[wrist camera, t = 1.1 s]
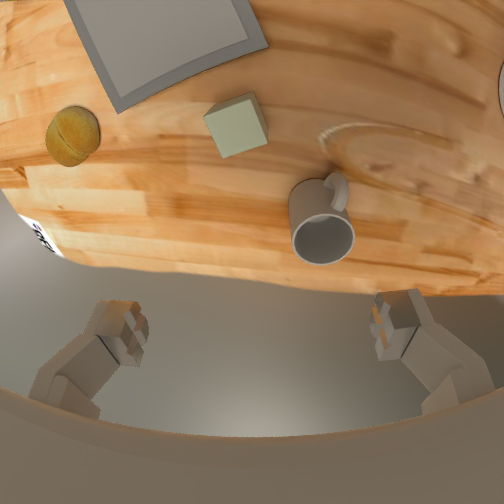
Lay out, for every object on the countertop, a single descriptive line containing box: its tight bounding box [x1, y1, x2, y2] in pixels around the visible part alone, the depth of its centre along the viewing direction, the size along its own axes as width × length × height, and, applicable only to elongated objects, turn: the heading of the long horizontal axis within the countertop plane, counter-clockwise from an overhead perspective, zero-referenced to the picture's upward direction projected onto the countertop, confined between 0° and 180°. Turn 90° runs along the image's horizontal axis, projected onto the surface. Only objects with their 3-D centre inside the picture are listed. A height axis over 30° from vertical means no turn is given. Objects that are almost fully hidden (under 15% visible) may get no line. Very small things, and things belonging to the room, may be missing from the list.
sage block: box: [203, 91, 268, 159], centre depth 30 cm, size 5×5×6 cm
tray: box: [63, 0, 268, 114], centre depth 22 cm, size 18×18×4 cm
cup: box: [288, 173, 355, 265], centre depth 35 cm, size 7×10×9 cm
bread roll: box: [46, 107, 99, 167], centre depth 32 cm, size 8×9×4 cm
